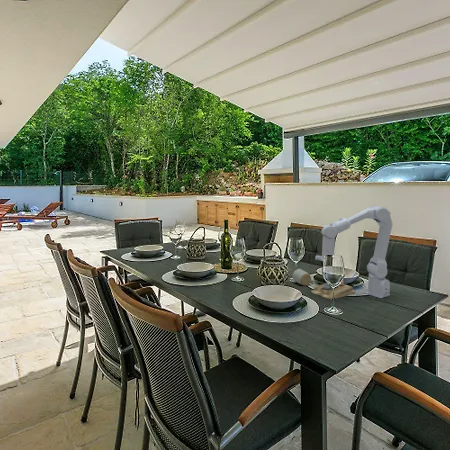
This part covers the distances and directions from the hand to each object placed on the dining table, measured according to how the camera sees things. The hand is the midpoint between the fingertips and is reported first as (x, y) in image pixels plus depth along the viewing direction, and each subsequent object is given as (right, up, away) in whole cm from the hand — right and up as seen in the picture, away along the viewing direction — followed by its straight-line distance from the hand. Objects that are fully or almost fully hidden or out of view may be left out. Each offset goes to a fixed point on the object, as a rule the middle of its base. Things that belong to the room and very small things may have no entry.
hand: (327, 276), depth 164 cm
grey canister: (-7, -7, +19) cm, 22 cm away
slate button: (0, -6, +1) cm, 7 cm away
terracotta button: (+8, -6, +6) cm, 12 cm away
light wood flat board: (+4, -9, +4) cm, 11 cm away
